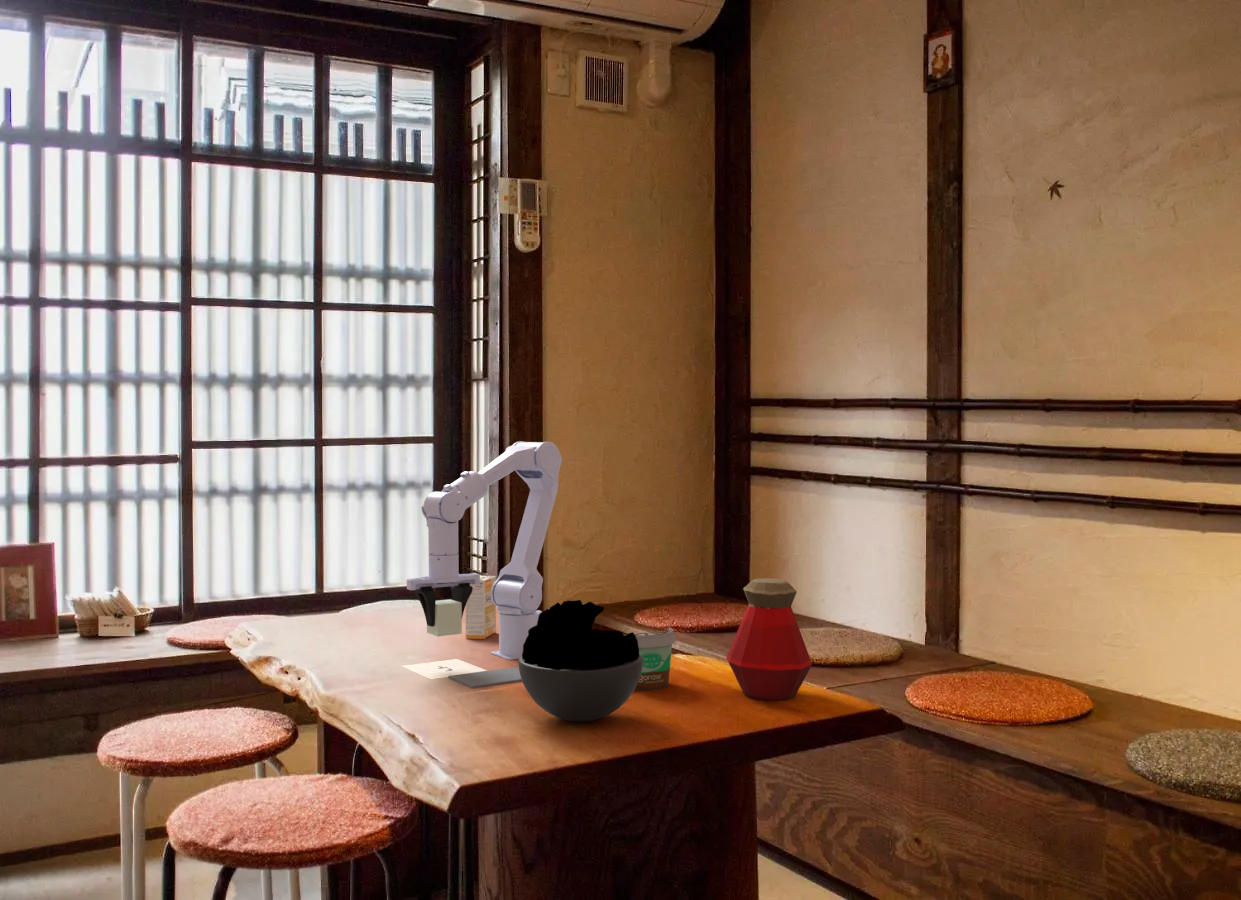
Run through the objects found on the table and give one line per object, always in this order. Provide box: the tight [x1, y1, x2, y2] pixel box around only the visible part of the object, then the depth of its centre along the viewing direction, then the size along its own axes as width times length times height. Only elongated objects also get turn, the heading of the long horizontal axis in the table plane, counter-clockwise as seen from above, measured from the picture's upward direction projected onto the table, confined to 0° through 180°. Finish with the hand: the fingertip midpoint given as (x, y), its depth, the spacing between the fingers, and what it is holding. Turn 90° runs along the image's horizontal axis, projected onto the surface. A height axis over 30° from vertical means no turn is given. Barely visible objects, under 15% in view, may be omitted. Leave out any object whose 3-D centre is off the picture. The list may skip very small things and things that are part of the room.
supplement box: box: [465, 575, 497, 640], centre depth 260 cm, size 8×5×13 cm, turn 168°
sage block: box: [426, 598, 463, 637], centre depth 224 cm, size 5×5×6 cm
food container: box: [623, 626, 677, 692], centre depth 209 cm, size 12×6×10 cm, turn 118°
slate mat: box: [447, 666, 522, 689], centre depth 216 cm, size 14×10×1 cm
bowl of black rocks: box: [517, 599, 643, 723], centre depth 186 cm, size 20×20×19 cm
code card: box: [401, 658, 488, 680], centre depth 225 cm, size 12×14×1 cm
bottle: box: [726, 577, 813, 702], centre depth 203 cm, size 16×14×20 cm
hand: (444, 624), depth 224 cm, fingers closed on sage block, 5 cm apart
